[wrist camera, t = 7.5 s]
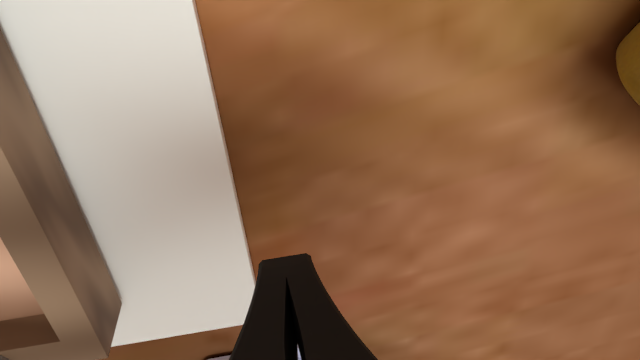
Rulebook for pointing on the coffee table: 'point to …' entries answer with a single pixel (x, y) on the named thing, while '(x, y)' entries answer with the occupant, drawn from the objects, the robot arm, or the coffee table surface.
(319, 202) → the coffee table surface
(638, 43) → the flower pot
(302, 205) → the coffee table surface
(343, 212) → the coffee table surface
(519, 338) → the coffee table surface
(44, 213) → the wooden tray
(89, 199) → the wall board
